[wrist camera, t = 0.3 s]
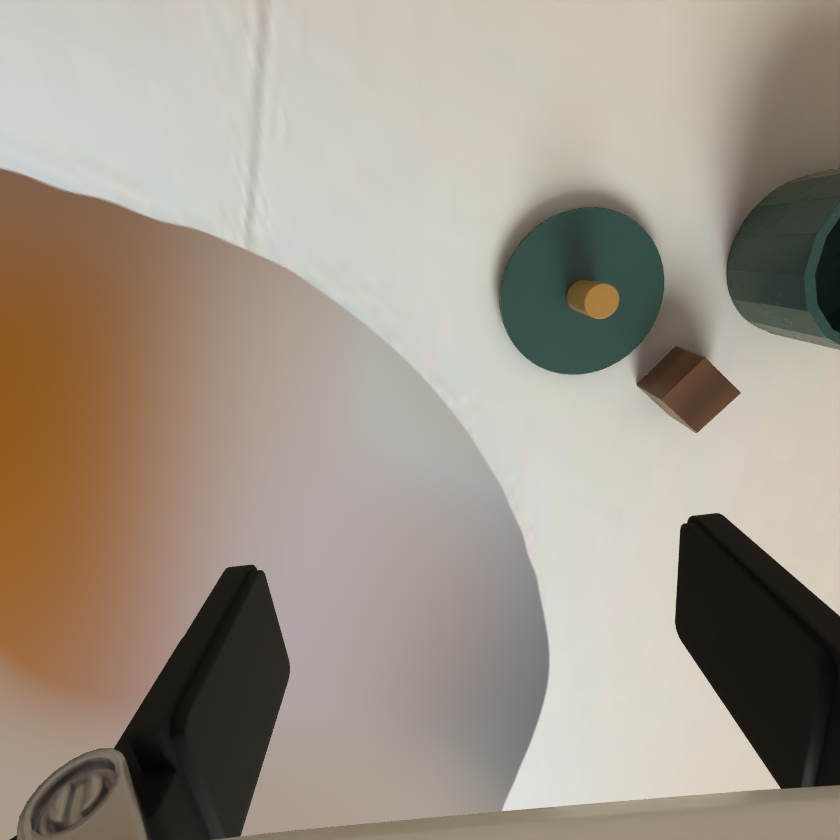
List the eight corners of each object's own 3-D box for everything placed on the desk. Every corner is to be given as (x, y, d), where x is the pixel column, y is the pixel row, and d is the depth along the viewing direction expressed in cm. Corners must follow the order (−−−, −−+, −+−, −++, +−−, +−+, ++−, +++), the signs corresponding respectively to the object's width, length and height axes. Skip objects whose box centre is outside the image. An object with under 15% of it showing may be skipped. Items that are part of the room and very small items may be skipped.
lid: (466, 288, 44) (473, 294, 38) (597, 169, 41) (627, 156, 35) (561, 401, 48) (581, 422, 42) (688, 300, 45) (729, 308, 39)
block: (636, 384, 47) (660, 399, 43) (675, 346, 46) (705, 357, 41) (669, 415, 48) (696, 433, 44) (709, 378, 47) (741, 392, 42)
